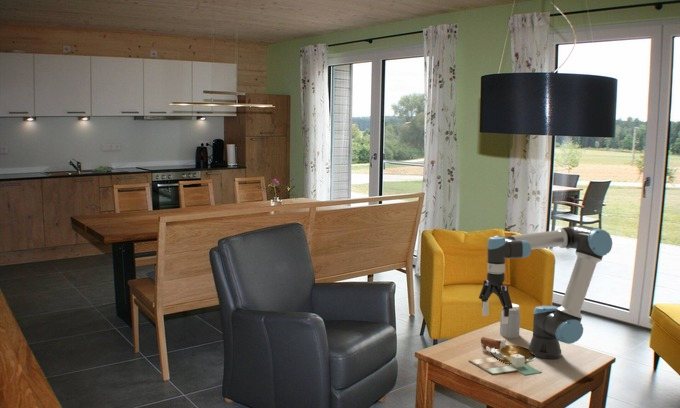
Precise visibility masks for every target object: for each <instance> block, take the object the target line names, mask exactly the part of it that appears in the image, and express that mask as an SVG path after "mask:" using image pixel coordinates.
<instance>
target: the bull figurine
mask: <svg viewBox="0 0 680 408" xmlns="http://www.w3.org/2000/svg"><path fill="white" fill-rule="evenodd" d="M506 343H507V340H505V339H501V338H499V339H494V338H489V337H484V336H483V337H481V338H480V344H481V349H482V350H484V352H488V350H487V347H488V348H489V349H490V350H491V349H494V350H495V349H500V351H501V350H502V349H503V348H506V347H507V345H506Z"/></svg>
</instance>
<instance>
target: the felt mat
mask: <svg viewBox="0 0 680 408" xmlns="http://www.w3.org/2000/svg"><path fill="white" fill-rule="evenodd" d="M508 365H509V364H508ZM510 366H512V365H510ZM512 367H514V366H512ZM514 368H516V367H514ZM516 369H517V370H519V371H517V372H518V373H520V374H522V375H524V376H529V375H535V374H541V373H542V371H541V370H539V369H536V368H534V367H532V366H530V365H529V364H526V363H524V367H518V368H516Z"/></svg>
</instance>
